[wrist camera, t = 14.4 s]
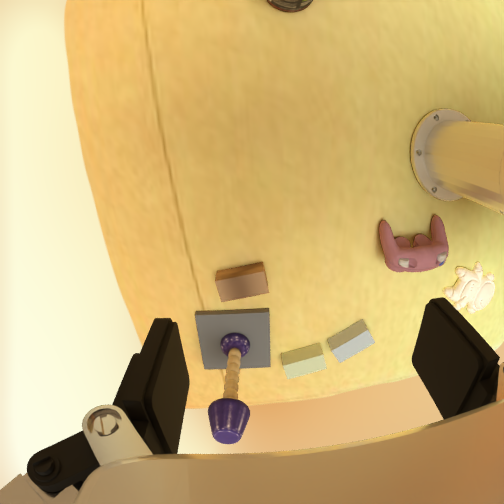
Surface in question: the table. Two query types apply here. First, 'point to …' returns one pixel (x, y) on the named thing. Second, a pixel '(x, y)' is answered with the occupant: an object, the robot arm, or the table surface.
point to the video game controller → (414, 249)
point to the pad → (234, 321)
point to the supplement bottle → (290, 4)
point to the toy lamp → (230, 394)
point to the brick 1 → (241, 282)
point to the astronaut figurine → (471, 289)
